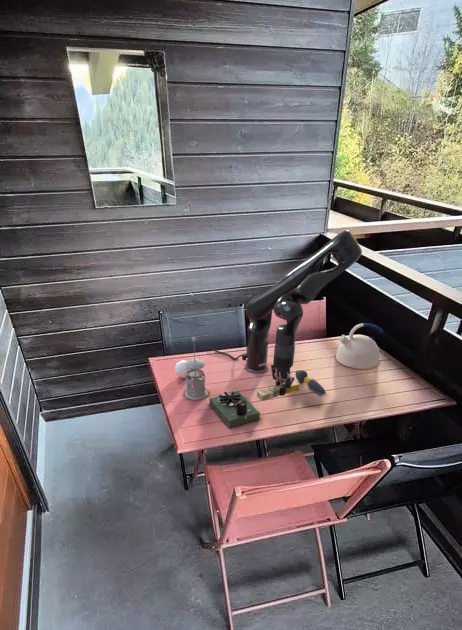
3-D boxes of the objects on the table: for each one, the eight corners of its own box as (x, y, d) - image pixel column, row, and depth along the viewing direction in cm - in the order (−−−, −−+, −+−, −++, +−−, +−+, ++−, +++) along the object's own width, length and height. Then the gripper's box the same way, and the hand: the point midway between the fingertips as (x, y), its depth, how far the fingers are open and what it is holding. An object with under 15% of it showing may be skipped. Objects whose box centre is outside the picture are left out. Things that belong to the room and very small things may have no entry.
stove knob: (243, 408, 170) (244, 398, 167) (248, 414, 167) (248, 403, 164) (234, 411, 168) (234, 400, 165) (238, 416, 165) (239, 405, 162)
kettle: (329, 351, 219) (335, 315, 208) (369, 349, 221) (377, 314, 210) (342, 370, 202) (349, 333, 192) (385, 368, 204) (394, 331, 194)
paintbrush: (330, 393, 186) (332, 382, 183) (322, 396, 183) (324, 386, 180) (297, 375, 198) (298, 365, 195) (289, 378, 196) (290, 368, 193)
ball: (189, 382, 198) (197, 372, 192) (173, 380, 193) (180, 370, 187) (186, 368, 201) (194, 358, 195) (170, 365, 196) (178, 355, 190)
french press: (190, 402, 179) (187, 344, 164) (179, 389, 187) (175, 333, 172) (211, 396, 183) (210, 340, 168) (200, 383, 191) (198, 329, 176)
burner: (214, 398, 176) (214, 394, 175) (234, 393, 179) (235, 389, 178) (224, 409, 169) (224, 405, 168) (245, 403, 173) (245, 399, 172)
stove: (209, 404, 178) (209, 397, 176) (238, 397, 182) (238, 390, 181) (230, 429, 164) (230, 422, 162) (261, 420, 169) (261, 413, 167)
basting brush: (261, 401, 169) (262, 394, 168) (256, 396, 172) (257, 389, 171) (299, 391, 176) (300, 384, 174) (294, 386, 179) (294, 380, 177)
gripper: (266, 347, 168) (263, 387, 178) (285, 363, 158) (281, 404, 168) (282, 344, 170) (279, 383, 181) (303, 359, 160) (297, 399, 171)
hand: (280, 393), depth 174 cm, fingers closed on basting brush, 2 cm apart
